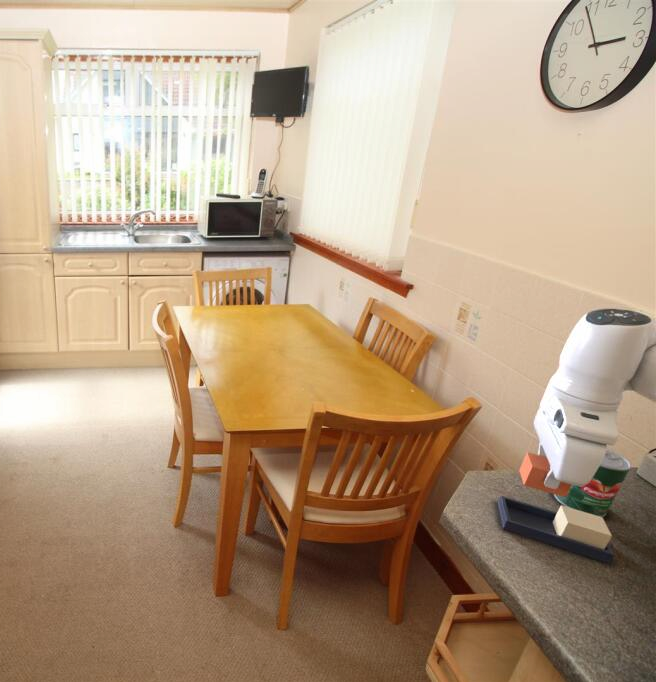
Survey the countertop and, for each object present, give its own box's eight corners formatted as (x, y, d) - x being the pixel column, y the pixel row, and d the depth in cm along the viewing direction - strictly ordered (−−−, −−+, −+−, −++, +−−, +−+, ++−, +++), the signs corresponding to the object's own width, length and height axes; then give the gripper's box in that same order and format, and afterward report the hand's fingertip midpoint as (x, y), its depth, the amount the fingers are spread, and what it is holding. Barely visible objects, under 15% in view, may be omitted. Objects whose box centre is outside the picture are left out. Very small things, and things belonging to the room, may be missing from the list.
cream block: (593, 534, 84) (602, 517, 82) (602, 554, 79) (612, 536, 78) (552, 522, 86) (560, 504, 85) (558, 540, 82) (567, 522, 80)
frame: (595, 534, 85) (600, 525, 84) (609, 564, 78) (614, 555, 77) (497, 503, 91) (500, 495, 90) (502, 529, 85) (506, 520, 84)
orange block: (523, 485, 82) (532, 466, 81) (519, 470, 86) (527, 451, 85) (565, 497, 80) (575, 478, 78) (559, 481, 84) (567, 462, 82)
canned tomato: (584, 519, 88) (608, 471, 84) (543, 491, 95) (564, 445, 91) (617, 515, 89) (643, 467, 85) (575, 487, 96) (597, 442, 92)
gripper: (540, 377, 87) (514, 440, 92) (567, 429, 70) (533, 502, 75) (584, 386, 84) (554, 451, 89) (623, 442, 67) (584, 518, 73)
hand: (545, 475), depth 82 cm, fingers closed on orange block, 5 cm apart
